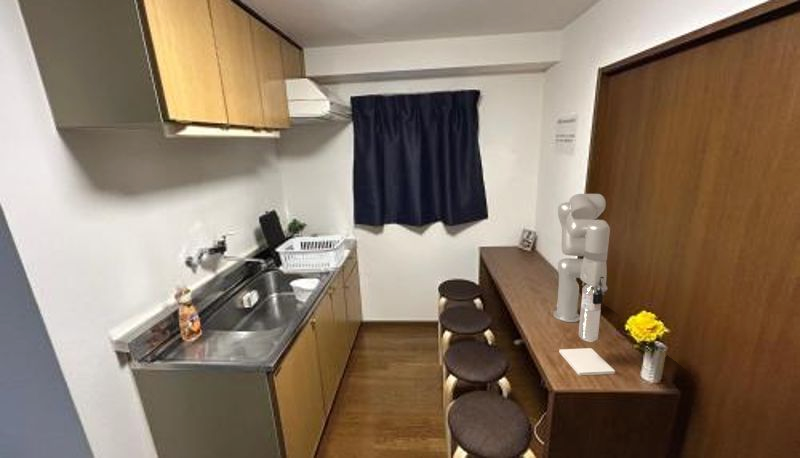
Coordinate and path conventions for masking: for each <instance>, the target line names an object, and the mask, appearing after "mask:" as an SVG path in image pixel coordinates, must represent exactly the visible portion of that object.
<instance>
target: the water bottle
mask: <svg viewBox="0 0 800 458" xmlns="http://www.w3.org/2000/svg"><path fill="white" fill-rule="evenodd" d="M598 286H600V285H598ZM582 287H583V286H582ZM599 289H600V288H597V290H599ZM594 294H595V291H594V287H591V286H589V285H588V284H586V285H585V286H584V287H583V288H581V295H582V296H581V304H580V313H579V315H580V320H579V323H578V337H579V339H581V340H583V341H586V342H590V343H591V342H593V343H594V342H596V341H597V340H598V338H599V331H600V330H599V329H600V318H601V311H602V310H601V306H602V303H601V304H593V295H594Z"/></svg>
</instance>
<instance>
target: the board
mask: <svg viewBox="0 0 800 458" xmlns="http://www.w3.org/2000/svg"><path fill="white" fill-rule="evenodd" d="M558 352H559V354H560V355H561V356H562V358H564V360H565V361H566V362H567V363H568V365H570V367H571V368H572V369H573V370H574V372H575V373H576V374H577V375H578V376H597V375H615V374H616V370H615V369H614V368H613V367H612V366H610V365H609V364H608V362H607V361H606V360H605V359H603V357H601V356H600V355H599V354H598V353H597V352H596V351H595V350H594V349H593V348H590V347H589V348H588V347H587V348H585V347H584V348H564V349H563V348H562V349H560V348H559V351H558Z"/></svg>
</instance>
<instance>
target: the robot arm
mask: <svg viewBox="0 0 800 458" xmlns="http://www.w3.org/2000/svg"><path fill="white" fill-rule="evenodd" d="M606 202H607V201H606V199H605V197H604V196H603V195H602V194H600V193H577V194H574V195H572V196H571V197H570V198H569V201H567V202H566V201H565V202H562V203H560V204H559V205H558V208H557V217H558V220H559V223H560V226H561V253H562V254H564V255H566V256H571V257H572V256H573V257H583V258H571V257H570V258H569V257H568V258H567V257H566V258H562V259H560V260H559V262H558V265H557V271H558V290H557V291H558V292H557V303H556V304H555V307H557V308H556V310H554V311H553V315H552V316H553V317H554V318H555V319H557V320H559V321H562V322H567V323H576V322H580V313H578V306H579V297H580V296H579V295H580V285H579V282H578V281H577V280H576V279H580V280H581V282H582V283H581V286H582V288H583V287H584V286H585V285H586V284H588V285H589V286H591V287H594V291H595V294H594V295H593V304H601V305H602V303H603V295H605V293H606V291H607V290H608V286H607V276H608V275H607V273H608V272H607V268H608V267H607V260H608V251H609V243H610V240H609V239H610V234H611V233H610V230H611V227H610V225H609V224H608V222H607V221H606V220H604V219H598V217H600V216H601V214H602V213H603V212H604V211H605V209H606ZM598 285H599V286H598ZM582 288H581V289H582ZM597 288H600V289H599V290H597Z"/></svg>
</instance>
